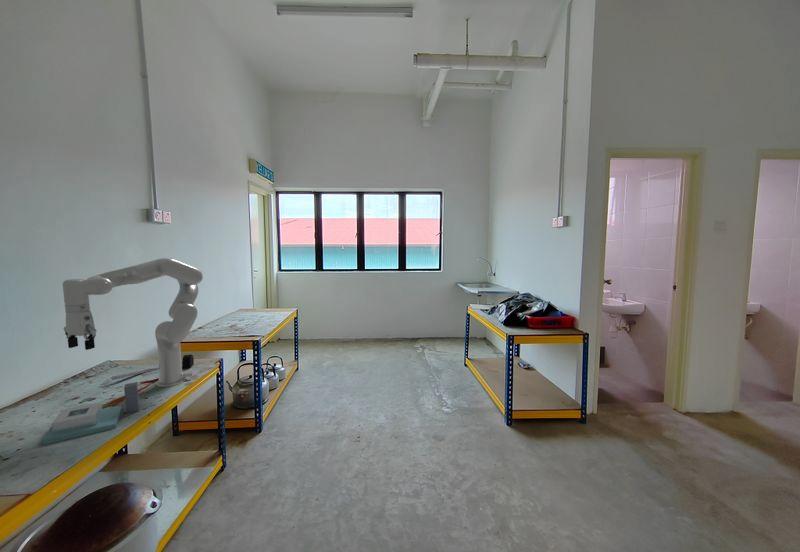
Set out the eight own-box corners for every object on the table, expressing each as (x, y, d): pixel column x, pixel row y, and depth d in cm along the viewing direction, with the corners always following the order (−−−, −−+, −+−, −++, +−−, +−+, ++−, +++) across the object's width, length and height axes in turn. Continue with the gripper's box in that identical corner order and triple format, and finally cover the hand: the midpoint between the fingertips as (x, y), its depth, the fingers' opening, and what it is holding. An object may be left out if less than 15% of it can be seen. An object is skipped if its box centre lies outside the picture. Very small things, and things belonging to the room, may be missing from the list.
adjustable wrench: (113, 380, 170) (113, 376, 170) (105, 379, 172) (105, 375, 172) (163, 369, 193) (163, 365, 193) (155, 368, 195) (155, 365, 195)
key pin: (139, 408, 147) (137, 382, 145) (138, 412, 143) (136, 385, 142) (127, 411, 144) (125, 384, 143) (126, 415, 141) (124, 387, 140)
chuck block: (122, 409, 146) (121, 396, 145) (115, 428, 131) (114, 413, 130) (58, 422, 135) (56, 408, 135) (42, 445, 120) (41, 428, 119)
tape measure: (190, 370, 191) (189, 356, 191) (181, 371, 190) (180, 357, 189) (197, 362, 205) (196, 349, 204) (189, 362, 204) (188, 349, 203)
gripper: (102, 307, 144) (106, 346, 146) (73, 305, 148) (77, 343, 150) (82, 311, 137) (86, 352, 138) (52, 309, 141) (56, 349, 143)
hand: (81, 347), depth 144 cm, fingers open, 9 cm apart
